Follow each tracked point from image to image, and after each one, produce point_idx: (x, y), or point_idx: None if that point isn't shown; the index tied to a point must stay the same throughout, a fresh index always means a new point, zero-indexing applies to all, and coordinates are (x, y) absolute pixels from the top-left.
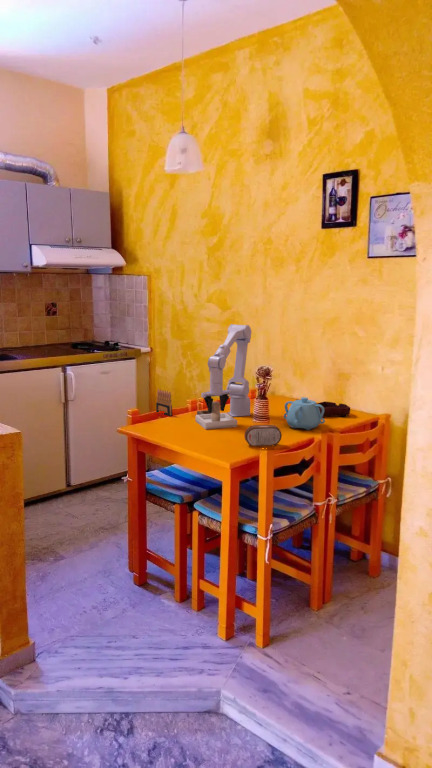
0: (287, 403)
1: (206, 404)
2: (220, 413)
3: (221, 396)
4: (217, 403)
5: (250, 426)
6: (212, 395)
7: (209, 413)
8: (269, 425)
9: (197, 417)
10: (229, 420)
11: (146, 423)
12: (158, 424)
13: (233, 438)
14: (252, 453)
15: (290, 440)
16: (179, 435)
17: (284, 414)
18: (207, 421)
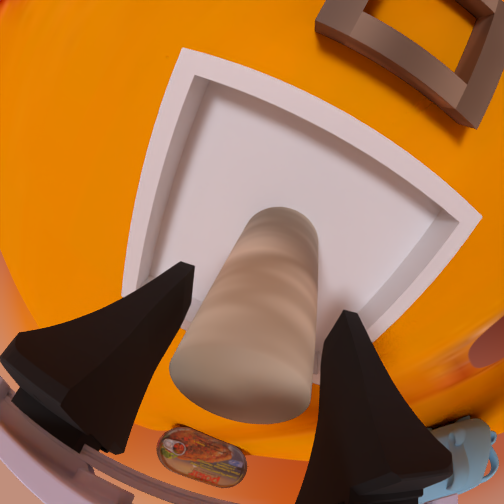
0: (453, 483)
1: (113, 303)
2: (441, 190)
3: (338, 490)
4: (225, 414)
5: (166, 466)
6: (122, 481)
7: (468, 4)
8: (211, 484)
9: (165, 107)
10: None
11: (13, 9)
12: (24, 39)
13: (179, 394)
14: (157, 429)
15: (293, 456)
16: (33, 250)
17: (456, 441)
18: (231, 184)
